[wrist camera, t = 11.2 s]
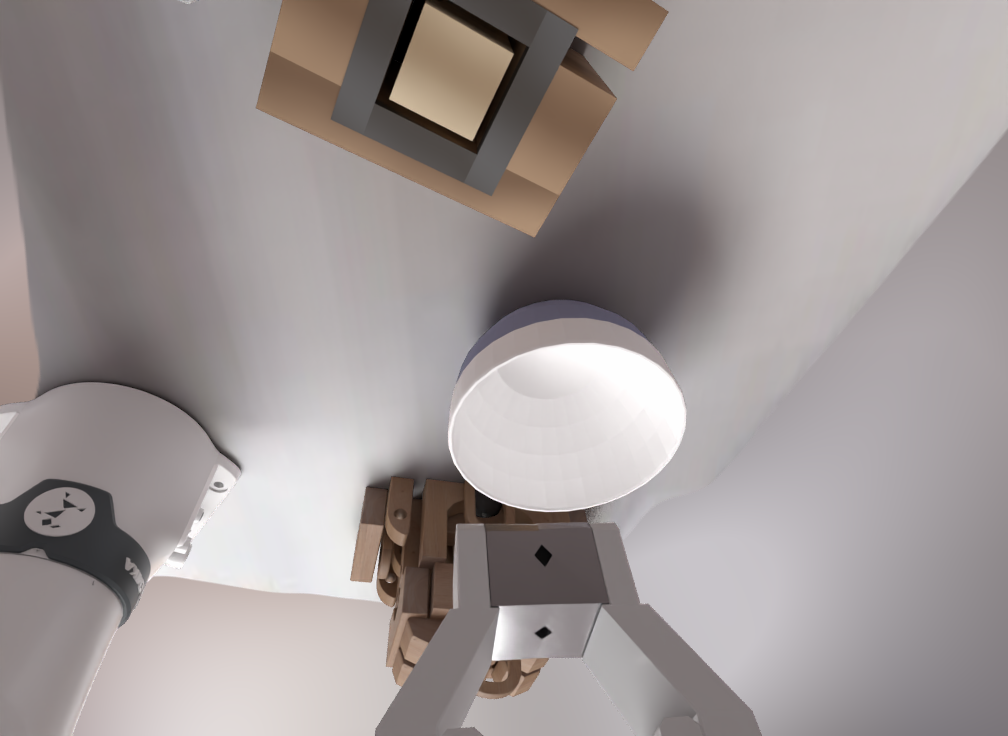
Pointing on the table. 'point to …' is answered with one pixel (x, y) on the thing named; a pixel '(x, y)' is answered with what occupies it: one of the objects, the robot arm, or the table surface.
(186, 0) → the ink box
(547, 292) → the table surface
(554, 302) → the bowl
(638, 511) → the table surface
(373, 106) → the socket block
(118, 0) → the table surface
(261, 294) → the table surface
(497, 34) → the peg
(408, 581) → the wooden puzzle
